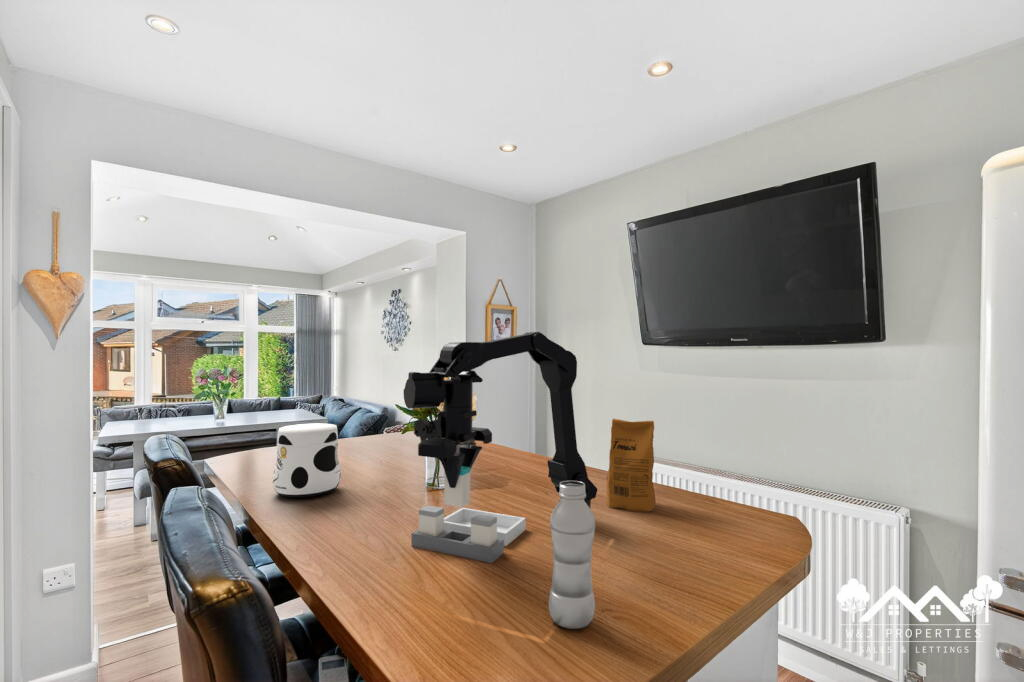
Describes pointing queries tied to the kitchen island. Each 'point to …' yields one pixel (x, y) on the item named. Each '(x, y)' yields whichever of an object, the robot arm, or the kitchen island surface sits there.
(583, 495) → the plastic bottle
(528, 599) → the kitchen island surface
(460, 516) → the tray
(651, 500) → the coffee package
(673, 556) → the kitchen island surface
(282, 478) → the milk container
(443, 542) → the fuse holder
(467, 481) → the block
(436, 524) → the block
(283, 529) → the kitchen island surface
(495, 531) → the fuse
